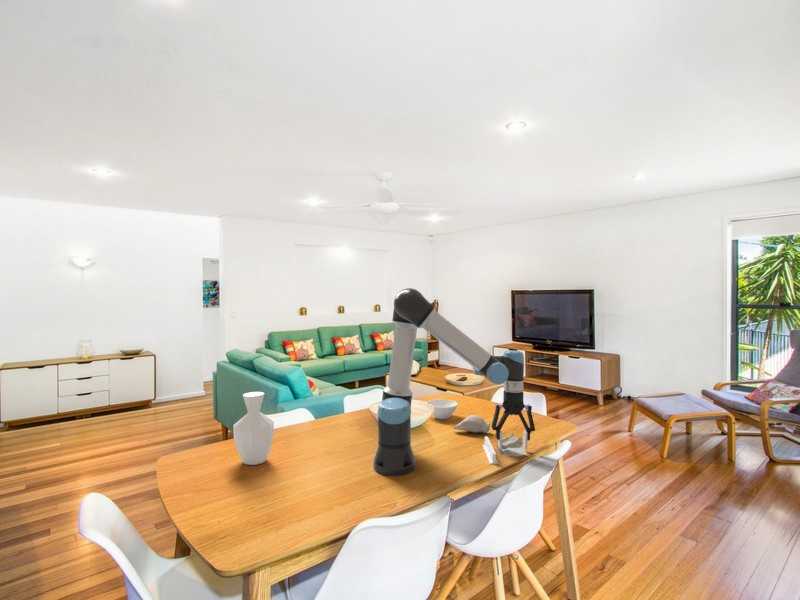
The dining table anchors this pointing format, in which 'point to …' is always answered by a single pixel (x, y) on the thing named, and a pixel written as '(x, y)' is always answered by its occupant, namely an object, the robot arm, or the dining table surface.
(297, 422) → the dining table surface
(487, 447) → the divider wall
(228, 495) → the dining table surface
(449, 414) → the bowl
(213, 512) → the dining table surface
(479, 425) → the decorative bird
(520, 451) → the rest mat
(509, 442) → the coral
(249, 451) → the vase
